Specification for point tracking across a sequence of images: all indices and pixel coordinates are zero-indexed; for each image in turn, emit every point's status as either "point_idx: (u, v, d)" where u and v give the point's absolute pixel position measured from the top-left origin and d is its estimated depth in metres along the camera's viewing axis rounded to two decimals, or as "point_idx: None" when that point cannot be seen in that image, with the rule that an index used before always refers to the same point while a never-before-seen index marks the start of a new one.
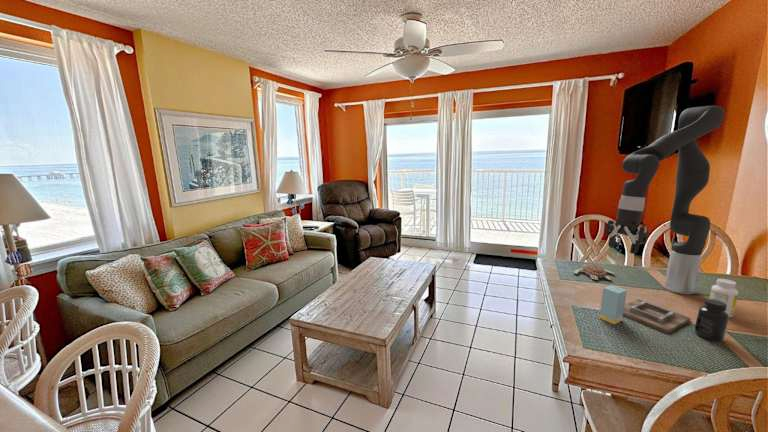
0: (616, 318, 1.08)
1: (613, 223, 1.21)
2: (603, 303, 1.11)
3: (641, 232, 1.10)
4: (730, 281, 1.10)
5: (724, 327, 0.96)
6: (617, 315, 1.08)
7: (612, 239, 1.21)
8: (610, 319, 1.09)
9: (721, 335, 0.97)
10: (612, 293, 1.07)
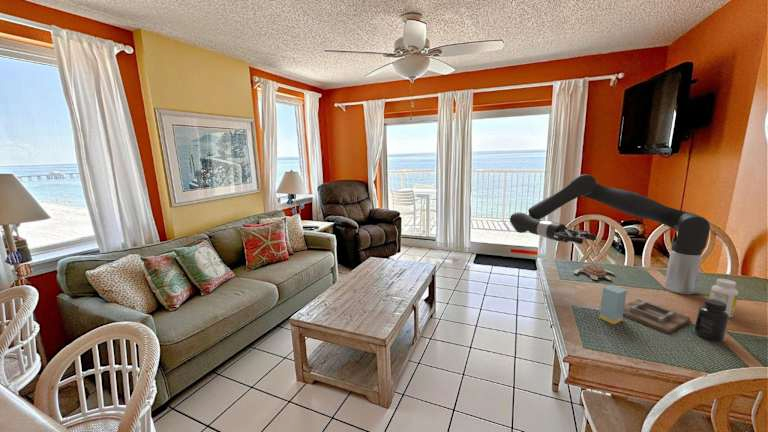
0: (616, 318, 1.08)
1: None
2: (603, 303, 1.11)
3: None
4: (730, 281, 1.10)
5: (724, 327, 0.96)
6: (617, 315, 1.08)
7: (586, 238, 1.24)
8: (610, 319, 1.09)
9: (721, 335, 0.97)
10: (612, 293, 1.07)
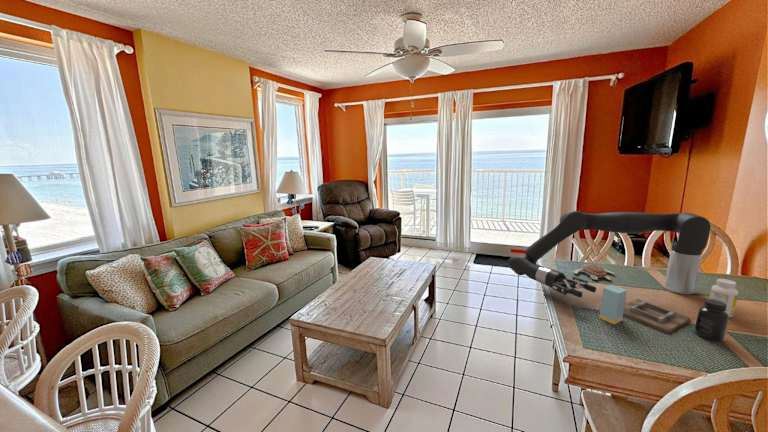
0: (616, 318, 1.08)
1: None
2: (603, 303, 1.11)
3: None
4: (730, 281, 1.10)
5: (724, 327, 0.96)
6: (617, 315, 1.08)
7: (586, 288, 1.22)
8: (610, 319, 1.09)
9: (721, 335, 0.97)
10: (612, 293, 1.07)
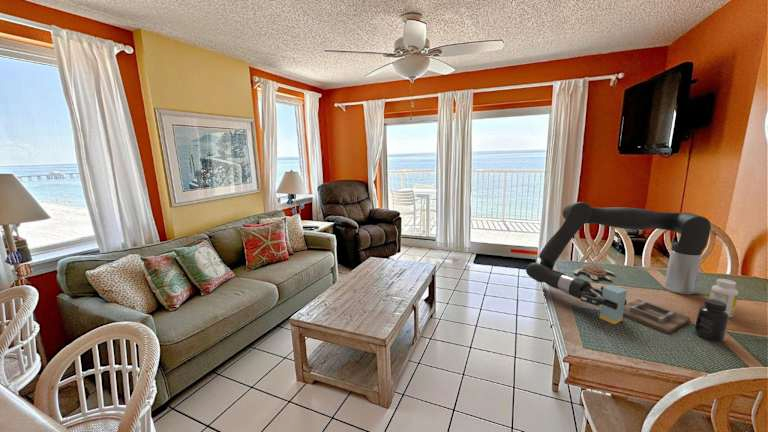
0: (616, 318, 1.08)
1: None
2: None
3: None
4: (730, 281, 1.10)
5: (724, 327, 0.96)
6: (617, 315, 1.08)
7: None
8: (610, 319, 1.09)
9: (721, 335, 0.97)
10: (612, 293, 1.07)
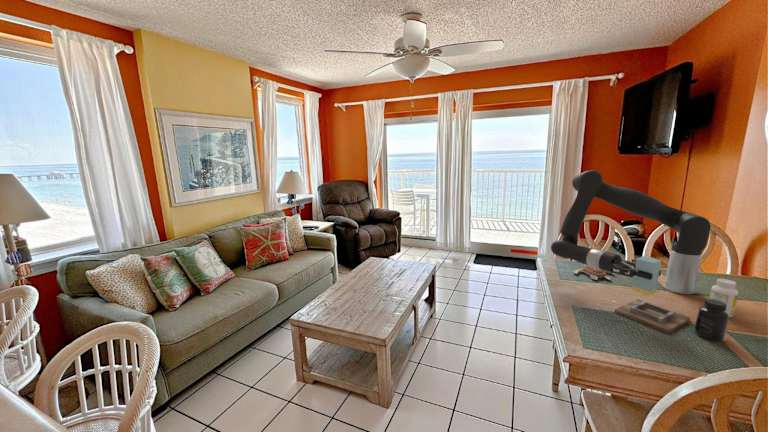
0: (651, 289, 1.06)
1: None
2: None
3: None
4: (730, 281, 1.10)
5: (724, 327, 0.96)
6: (651, 286, 1.06)
7: None
8: (644, 290, 1.07)
9: (721, 335, 0.97)
10: (647, 264, 1.06)
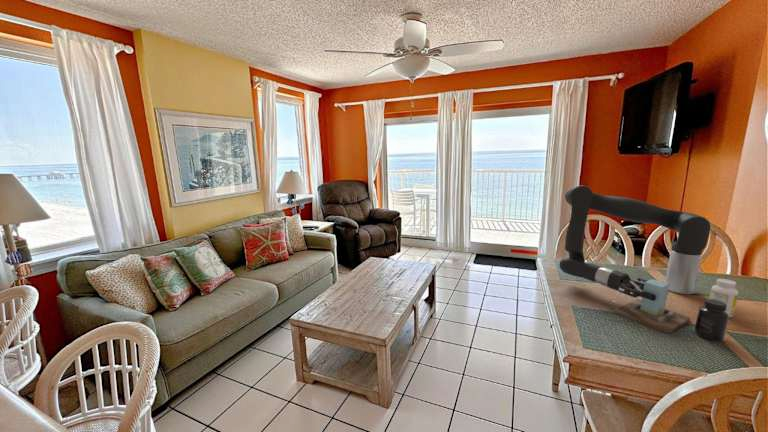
0: (658, 312, 1.09)
1: None
2: None
3: None
4: (730, 281, 1.10)
5: (724, 327, 0.96)
6: (659, 309, 1.09)
7: None
8: (652, 313, 1.10)
9: (721, 335, 0.97)
10: (655, 287, 1.08)
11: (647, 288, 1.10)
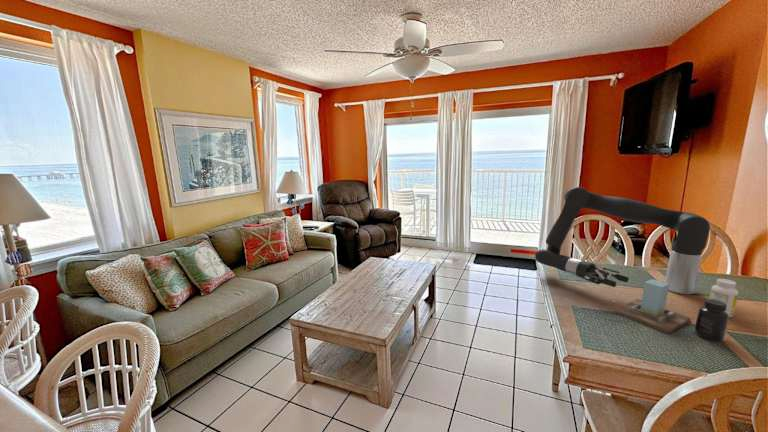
0: (658, 312, 1.09)
1: None
2: (644, 297, 1.12)
3: None
4: (730, 281, 1.10)
5: (724, 327, 0.96)
6: (659, 309, 1.09)
7: (618, 278, 1.25)
8: (652, 313, 1.10)
9: (721, 335, 0.97)
10: (655, 287, 1.08)
11: (647, 288, 1.10)
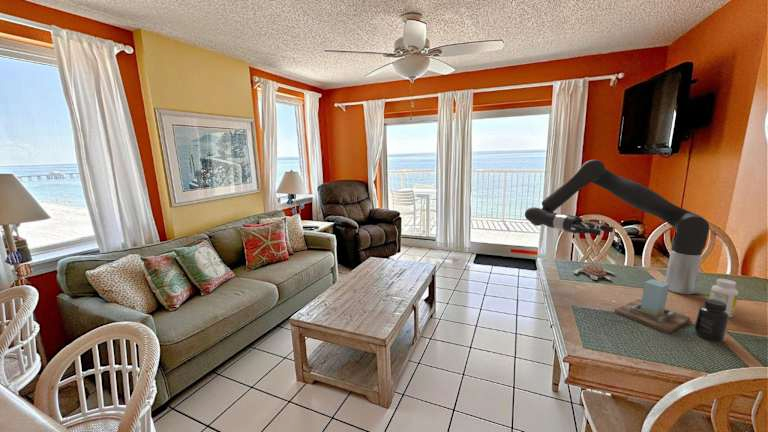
0: (658, 312, 1.09)
1: None
2: (644, 297, 1.12)
3: None
4: (730, 281, 1.10)
5: (724, 327, 0.96)
6: (659, 309, 1.09)
7: (603, 229, 1.28)
8: (652, 313, 1.10)
9: (721, 335, 0.97)
10: (655, 287, 1.08)
11: (647, 288, 1.10)
